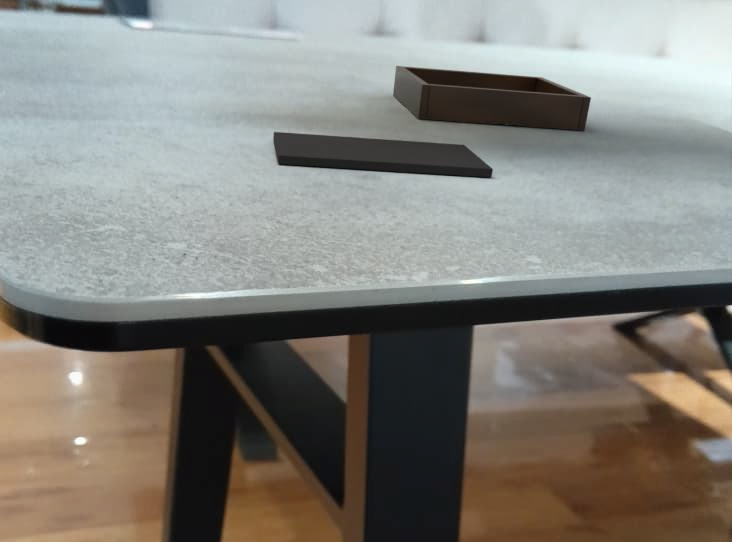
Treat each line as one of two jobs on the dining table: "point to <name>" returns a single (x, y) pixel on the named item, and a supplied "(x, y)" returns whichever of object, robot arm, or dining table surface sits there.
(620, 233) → the dining table surface
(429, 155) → the mat
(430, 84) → the tray
